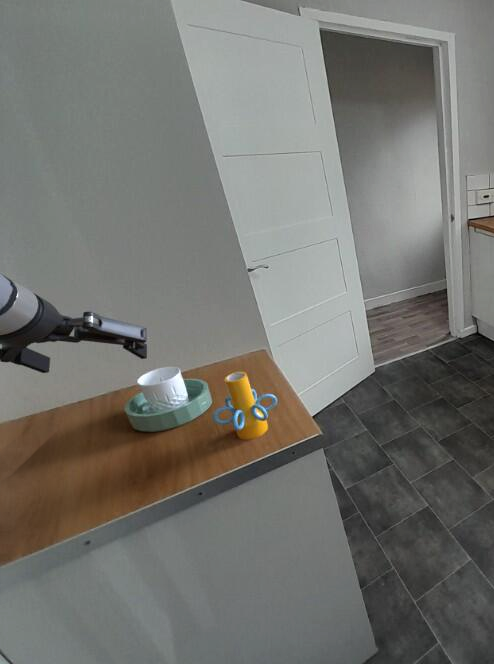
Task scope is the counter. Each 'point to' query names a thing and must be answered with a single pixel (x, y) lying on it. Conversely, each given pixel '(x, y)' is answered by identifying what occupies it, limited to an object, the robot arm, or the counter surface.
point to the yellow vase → (245, 407)
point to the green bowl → (152, 422)
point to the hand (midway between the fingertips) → (97, 358)
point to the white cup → (163, 389)
